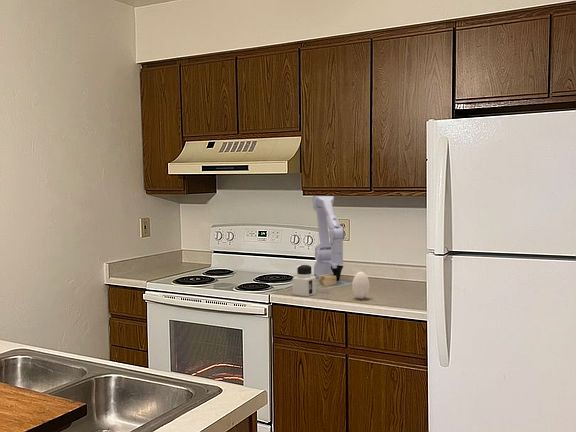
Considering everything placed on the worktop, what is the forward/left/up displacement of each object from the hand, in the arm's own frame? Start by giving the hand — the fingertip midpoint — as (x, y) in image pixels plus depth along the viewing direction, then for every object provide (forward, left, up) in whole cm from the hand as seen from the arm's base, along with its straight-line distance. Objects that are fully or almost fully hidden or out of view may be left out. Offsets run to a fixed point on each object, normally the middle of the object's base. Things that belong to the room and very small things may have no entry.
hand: (337, 280), depth 292 cm
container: (+5, -26, -2) cm, 27 cm away
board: (0, -4, -2) cm, 5 cm away
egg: (+29, -15, -2) cm, 33 cm away
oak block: (-1, -5, -1) cm, 5 cm away
